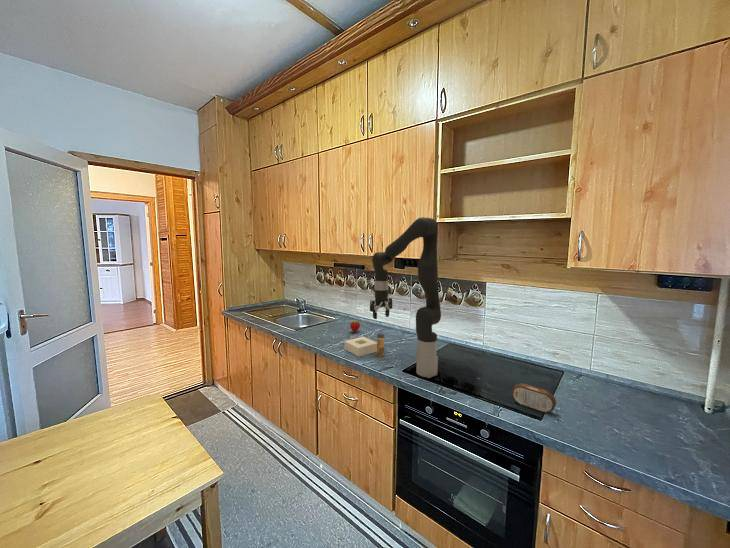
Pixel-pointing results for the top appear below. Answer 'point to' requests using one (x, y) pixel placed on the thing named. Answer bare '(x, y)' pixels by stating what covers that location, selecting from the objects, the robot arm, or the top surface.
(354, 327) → the strawberry
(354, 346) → the socket block
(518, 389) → the brown rounded slab
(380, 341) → the peg
